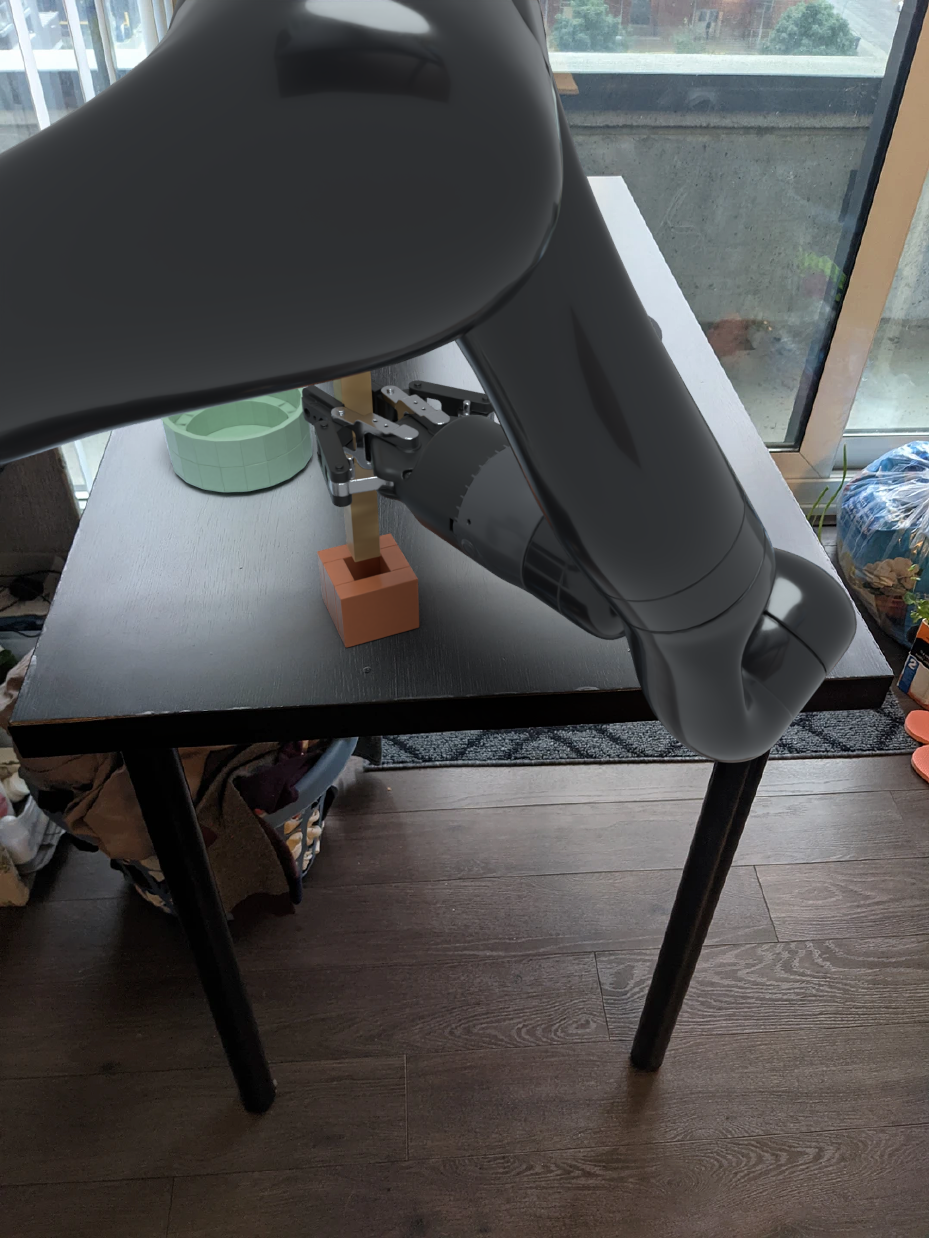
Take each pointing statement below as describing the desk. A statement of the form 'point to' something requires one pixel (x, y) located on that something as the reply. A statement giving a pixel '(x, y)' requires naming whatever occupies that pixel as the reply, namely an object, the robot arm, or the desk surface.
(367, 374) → the stirring stick
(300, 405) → the mixing bowl
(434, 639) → the desk surface
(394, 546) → the orange square socket block
